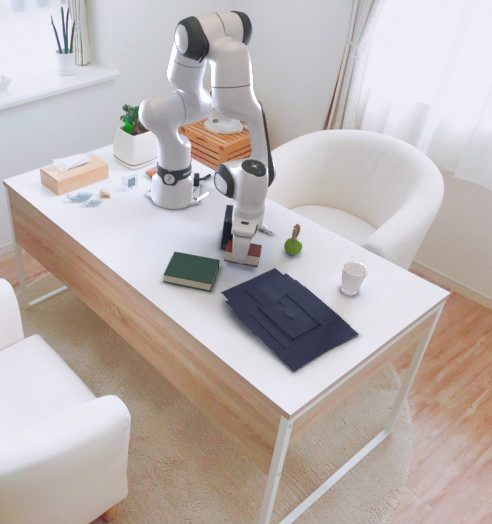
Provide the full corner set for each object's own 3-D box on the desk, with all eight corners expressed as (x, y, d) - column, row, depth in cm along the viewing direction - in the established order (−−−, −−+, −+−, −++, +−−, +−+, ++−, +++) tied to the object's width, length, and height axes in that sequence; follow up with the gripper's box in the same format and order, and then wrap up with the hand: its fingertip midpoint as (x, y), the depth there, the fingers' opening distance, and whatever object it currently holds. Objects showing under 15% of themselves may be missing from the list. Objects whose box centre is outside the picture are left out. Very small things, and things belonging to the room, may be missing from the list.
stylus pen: (275, 234, 188) (276, 229, 187) (269, 237, 187) (270, 232, 186) (243, 214, 198) (243, 210, 197) (237, 217, 197) (238, 212, 195)
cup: (331, 292, 164) (337, 269, 159) (346, 275, 171) (352, 253, 166) (355, 302, 161) (362, 279, 156) (369, 284, 167) (376, 262, 162)
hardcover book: (174, 259, 177) (174, 251, 175) (219, 267, 173) (219, 259, 171) (163, 282, 167) (163, 274, 166) (210, 291, 164) (211, 283, 162)
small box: (240, 252, 180) (244, 223, 174) (219, 249, 181) (222, 221, 175) (242, 233, 188) (246, 206, 182) (222, 231, 189) (225, 204, 183)
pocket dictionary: (227, 250, 177) (228, 239, 175) (260, 255, 175) (262, 245, 172) (223, 261, 172) (225, 250, 170) (257, 267, 170) (259, 256, 168)
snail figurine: (280, 257, 178) (286, 224, 171) (285, 246, 182) (291, 214, 175) (297, 261, 176) (304, 228, 169) (302, 251, 181) (309, 218, 173)
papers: (277, 272, 169) (280, 263, 167) (356, 340, 152) (360, 331, 149) (213, 301, 158) (215, 292, 156) (290, 379, 141) (293, 369, 138)
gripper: (242, 197, 173) (238, 235, 182) (230, 232, 158) (225, 272, 166) (264, 200, 172) (258, 238, 180) (253, 236, 156) (247, 276, 164)
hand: (242, 255), depth 173 cm, fingers closed on pocket dictionary, 6 cm apart
